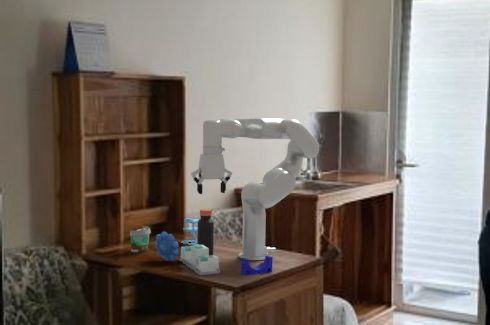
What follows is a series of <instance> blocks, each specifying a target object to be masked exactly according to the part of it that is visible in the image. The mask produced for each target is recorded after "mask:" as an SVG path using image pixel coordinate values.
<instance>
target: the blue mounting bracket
mask: <svg viewBox="0 0 490 325" xmlns="http://www.w3.org/2000/svg"><path fill="white" fill-rule="evenodd" d="M240 259H241V260H240V261H241V262H240V263H241V264H240V266H241V267H240V273H241V274H242V275H243V276H247V275H257V274H265V273H272V272H273V259H274V258H273V256H271V255H268V256H265V260H263V262H260V263H259V264H258V265H256V266H253V267H251V264H250V260H248V259H246V258H240Z"/></svg>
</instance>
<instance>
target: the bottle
mask: <svg viewBox="0 0 490 325" xmlns="http://www.w3.org/2000/svg"><path fill="white" fill-rule="evenodd" d="M212 212H213V210H212V209H210V208H201V209H200V210H199V217H200V218H199V221H198V222H197V227H198V232H196V233H197V235H196V237H197V244H199V245H204V246H206V247H207V248H209V256H211V255H214V243H215V242H214V240H215V239H214V236H215V234H214V232H215V227H214V226H215V221H214V219H212V215H213V213H212Z"/></svg>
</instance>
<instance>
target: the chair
mask: <svg viewBox="0 0 490 325" xmlns="http://www.w3.org/2000/svg"><path fill="white" fill-rule="evenodd" d="M199 220H200V218H199V219H198V218H192V217H187V218H185V219H184V220H183V222H184V225H185V226H184V227H183V228H182V229H183V230H184V231H189V232H191V234H192V236H193V238H194V239H192V240H191V239H190V240H189V239H188V240H181V241H180V242H181V243H183V244H182V245H186V244H188V245H187V246H190V245H194V244H197V235H196V233H197V232H198V226H196V224H197V223H198V221H199ZM187 223H189V224H192V226H188V224H187ZM195 232H196V233H195ZM188 242H191V243H188Z"/></svg>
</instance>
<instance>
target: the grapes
mask: <svg viewBox="0 0 490 325" xmlns="http://www.w3.org/2000/svg"><path fill="white" fill-rule="evenodd" d="M155 238H156V240H155V241H154V243H153V245H154V247H155V248H156V254H157V256H160V257H161V258H162V259H163V261H165V262H168V261H169V260H170V261H171V262H174V261H176V257H178V256H179V255H180V251H179V249H178V248H179V243H178V241H176V240H175V236H174V235H173V234H171V233H169V234H168V232H166V231H161V233H157V234H156V236H155Z"/></svg>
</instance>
